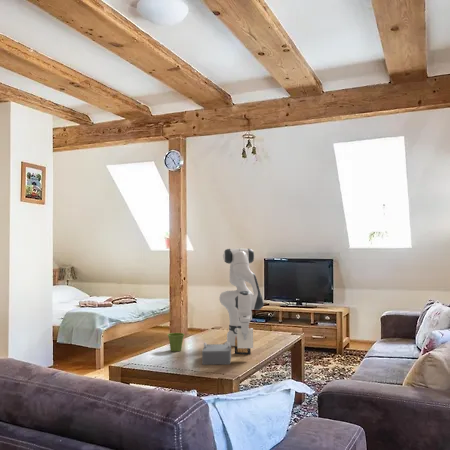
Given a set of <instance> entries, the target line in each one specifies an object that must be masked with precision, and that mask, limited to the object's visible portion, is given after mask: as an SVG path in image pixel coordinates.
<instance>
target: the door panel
mask: <svg viewBox="0 0 450 450" xmlns="http://www.w3.org/2000/svg"><path fill="white" fill-rule="evenodd" d="M237 348H250V349H254V328H252V327H251V328H249V329H248V334H247V339H246V340H244V335H243V334H242V330H241V328H237Z"/></svg>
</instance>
